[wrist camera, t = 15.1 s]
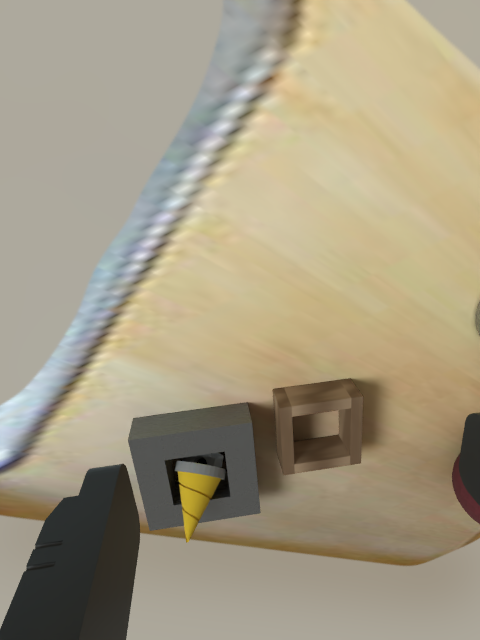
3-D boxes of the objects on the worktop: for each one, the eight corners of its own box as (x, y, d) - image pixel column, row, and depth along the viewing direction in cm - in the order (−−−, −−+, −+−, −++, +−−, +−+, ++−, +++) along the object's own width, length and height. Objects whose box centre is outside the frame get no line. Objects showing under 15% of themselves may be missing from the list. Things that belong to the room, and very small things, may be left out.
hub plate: (247, 402, 42) (252, 422, 38) (255, 488, 46) (260, 513, 43) (133, 418, 41) (127, 440, 38) (152, 504, 45) (149, 530, 42)
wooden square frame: (350, 378, 42) (363, 396, 39) (348, 441, 45) (360, 463, 42) (272, 389, 41) (279, 408, 38) (276, 452, 44) (283, 475, 41)
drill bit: (237, 445, 44) (221, 547, 40) (194, 440, 46) (175, 537, 42) (220, 435, 40) (200, 548, 35) (173, 431, 41) (149, 537, 37)
